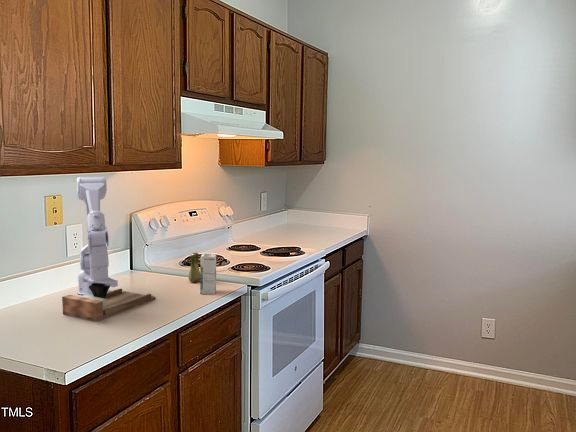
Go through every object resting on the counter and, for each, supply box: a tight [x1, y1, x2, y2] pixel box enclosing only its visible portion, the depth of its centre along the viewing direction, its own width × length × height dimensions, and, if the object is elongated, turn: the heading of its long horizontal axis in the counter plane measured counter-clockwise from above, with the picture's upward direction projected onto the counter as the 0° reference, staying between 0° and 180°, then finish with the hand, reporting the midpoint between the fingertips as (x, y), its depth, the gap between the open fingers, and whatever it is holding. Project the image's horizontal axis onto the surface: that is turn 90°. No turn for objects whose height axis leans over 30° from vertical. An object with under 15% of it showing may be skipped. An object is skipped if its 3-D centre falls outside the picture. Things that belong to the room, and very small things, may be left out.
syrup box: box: [199, 253, 217, 295], centre depth 205 cm, size 6×6×14 cm
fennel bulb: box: [188, 252, 200, 283], centre depth 220 cm, size 6×5×12 cm
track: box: [61, 288, 156, 322], centre depth 186 cm, size 15×28×6 cm, turn 153°
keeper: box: [79, 295, 107, 310], centre depth 178 cm, size 10×4×4 cm, turn 63°
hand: (100, 304), depth 182 cm, fingers closed
